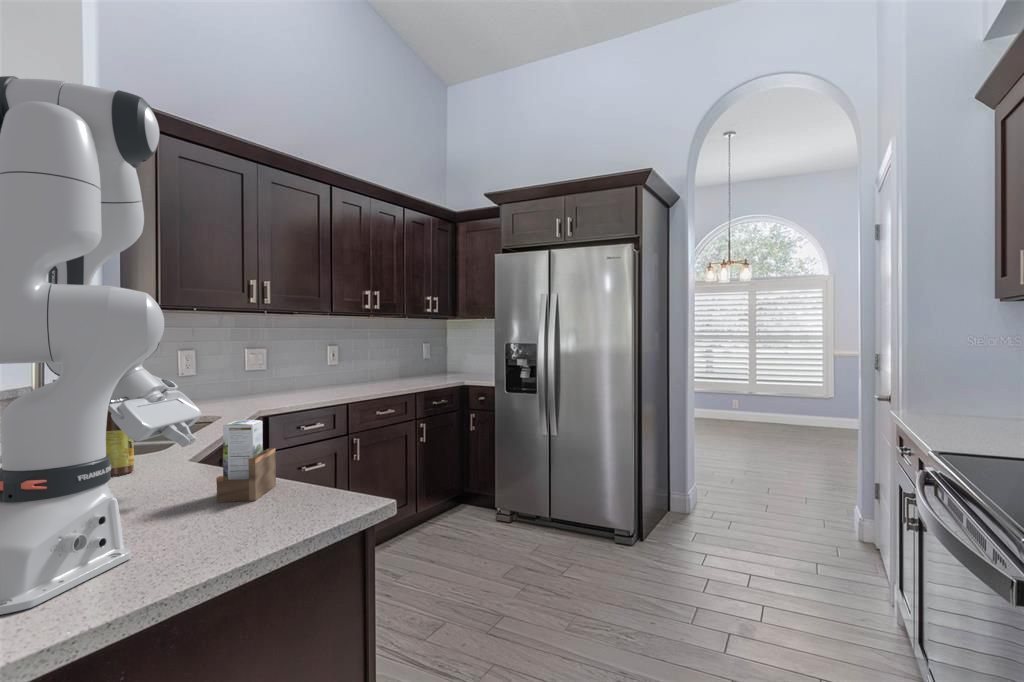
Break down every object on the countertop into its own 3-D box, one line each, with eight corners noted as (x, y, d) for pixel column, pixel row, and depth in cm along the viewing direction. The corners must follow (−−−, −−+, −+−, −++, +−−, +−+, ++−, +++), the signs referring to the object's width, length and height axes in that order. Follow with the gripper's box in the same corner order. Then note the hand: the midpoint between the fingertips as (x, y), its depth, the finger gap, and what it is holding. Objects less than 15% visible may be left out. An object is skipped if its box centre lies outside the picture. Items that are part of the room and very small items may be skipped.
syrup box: (234, 490, 110) (232, 420, 110) (264, 488, 110) (262, 419, 110) (222, 498, 104) (221, 424, 104) (254, 496, 105) (252, 423, 105)
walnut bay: (256, 500, 102) (255, 459, 102) (216, 502, 101) (215, 460, 101) (276, 485, 113) (275, 448, 113) (240, 487, 112) (239, 449, 112)
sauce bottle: (136, 473, 126) (134, 389, 126) (103, 478, 121) (101, 391, 121) (131, 468, 130) (130, 388, 130) (99, 473, 126) (98, 390, 126)
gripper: (114, 388, 95) (172, 441, 96) (177, 380, 116) (225, 424, 116) (88, 414, 95) (146, 467, 95) (156, 402, 115) (204, 445, 116)
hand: (190, 443), depth 106 cm, fingers closed
